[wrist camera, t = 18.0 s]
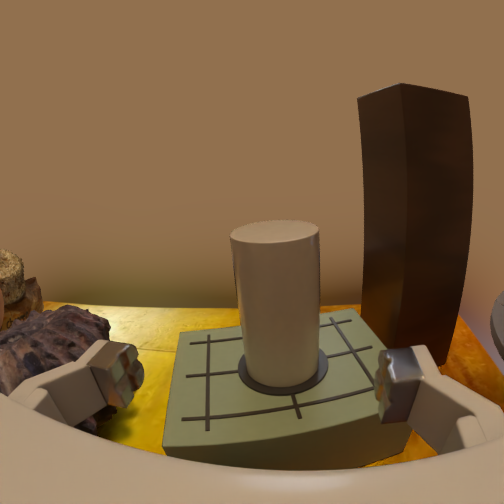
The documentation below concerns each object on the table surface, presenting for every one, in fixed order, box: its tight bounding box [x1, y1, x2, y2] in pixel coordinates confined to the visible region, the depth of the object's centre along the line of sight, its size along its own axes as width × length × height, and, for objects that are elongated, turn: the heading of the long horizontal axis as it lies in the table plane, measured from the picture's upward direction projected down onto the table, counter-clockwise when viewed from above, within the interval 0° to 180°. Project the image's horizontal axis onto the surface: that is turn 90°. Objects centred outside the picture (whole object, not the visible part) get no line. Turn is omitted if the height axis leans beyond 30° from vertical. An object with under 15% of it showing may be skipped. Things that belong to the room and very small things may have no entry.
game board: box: [162, 308, 412, 471], centre depth 20 cm, size 15×12×6 cm
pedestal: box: [357, 83, 473, 366], centre depth 23 cm, size 7×7×24 cm
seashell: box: [0, 305, 117, 436], centre depth 20 cm, size 20×13×15 cm
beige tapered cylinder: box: [230, 220, 320, 387], centre depth 18 cm, size 5×5×9 cm
